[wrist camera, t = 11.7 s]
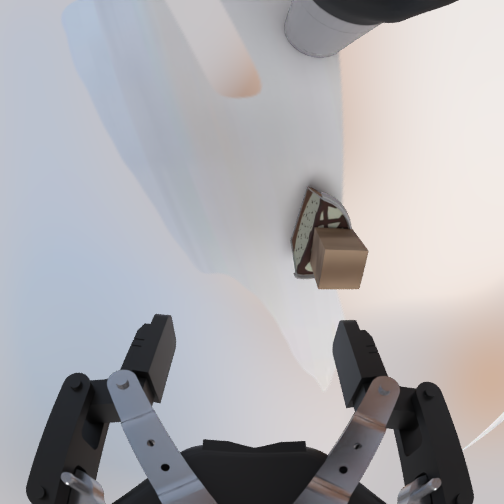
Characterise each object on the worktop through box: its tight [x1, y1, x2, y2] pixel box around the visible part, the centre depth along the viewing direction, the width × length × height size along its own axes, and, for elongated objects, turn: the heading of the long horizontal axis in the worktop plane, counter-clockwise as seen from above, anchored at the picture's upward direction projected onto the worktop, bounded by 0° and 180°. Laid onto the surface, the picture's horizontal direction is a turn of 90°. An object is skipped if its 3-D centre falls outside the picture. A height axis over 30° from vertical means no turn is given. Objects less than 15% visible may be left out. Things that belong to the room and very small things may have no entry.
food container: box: [291, 187, 352, 279], centre depth 40 cm, size 12×6×10 cm, turn 167°
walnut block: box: [310, 227, 368, 289], centre depth 33 cm, size 5×5×6 cm
